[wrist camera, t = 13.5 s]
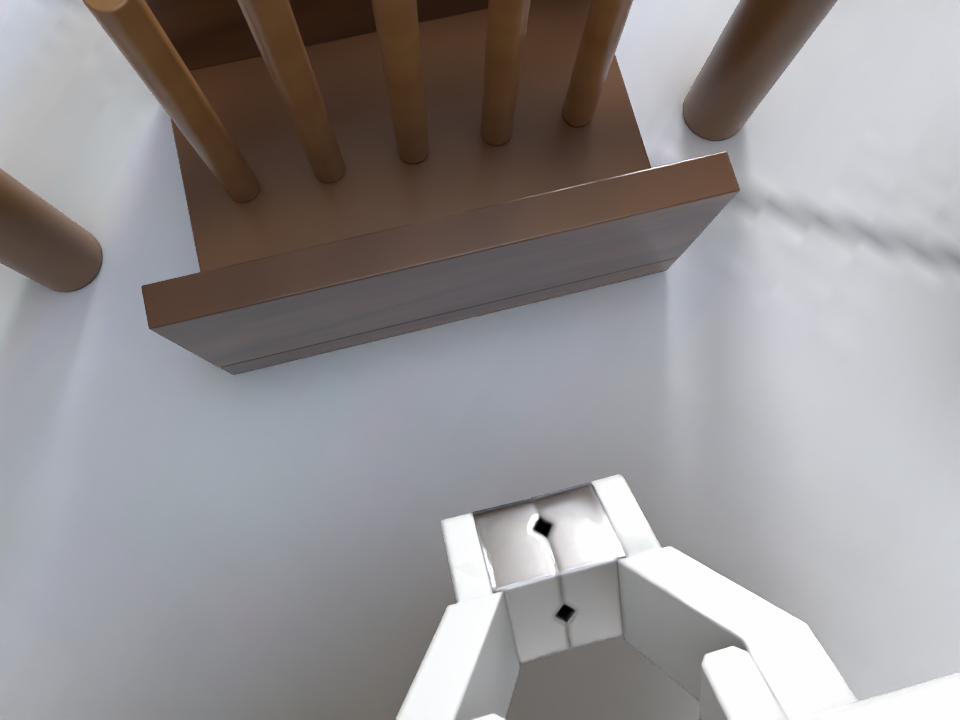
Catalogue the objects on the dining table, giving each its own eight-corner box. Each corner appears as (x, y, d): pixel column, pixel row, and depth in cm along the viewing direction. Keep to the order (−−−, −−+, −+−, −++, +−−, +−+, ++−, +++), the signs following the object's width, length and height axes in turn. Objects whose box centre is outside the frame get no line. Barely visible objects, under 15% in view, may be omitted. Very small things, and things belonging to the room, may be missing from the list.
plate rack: (667, 270, 27) (822, 100, 15) (232, 375, 25) (50, 275, 14) (578, -14, 29) (655, -347, 17) (172, 71, 28) (-27, -227, 16)
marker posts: (753, 133, 28) (890, -39, 19) (39, 299, 26) (-180, 194, 17) (733, 77, 28) (858, -117, 19) (30, 236, 26) (-189, 102, 17)
